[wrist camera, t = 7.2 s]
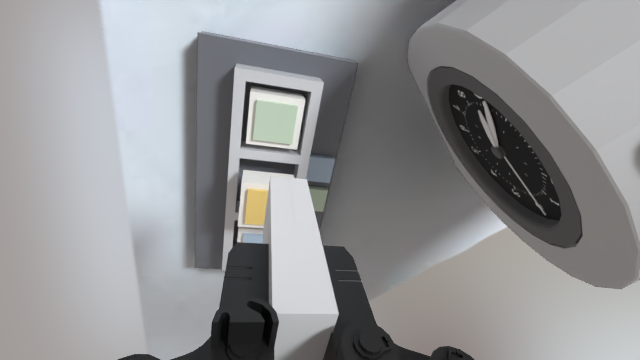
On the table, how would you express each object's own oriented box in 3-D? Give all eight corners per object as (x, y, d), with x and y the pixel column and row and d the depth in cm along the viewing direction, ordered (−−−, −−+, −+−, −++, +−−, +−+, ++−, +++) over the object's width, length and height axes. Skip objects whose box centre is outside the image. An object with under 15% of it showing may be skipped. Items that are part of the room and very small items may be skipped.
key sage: (251, 85, 24) (250, 92, 22) (302, 94, 25) (305, 101, 23) (247, 134, 26) (245, 145, 24) (294, 140, 26) (297, 151, 24)
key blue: (240, 215, 29) (238, 230, 27) (282, 218, 30) (283, 232, 28) (237, 248, 31) (235, 265, 29) (277, 250, 32) (278, 266, 30)
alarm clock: (386, 21, 25) (646, 36, 8) (468, -39, 24) (974, -171, 7) (470, 195, 35) (667, 369, 18) (531, 159, 34) (803, 306, 17)
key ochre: (243, 169, 24) (241, 183, 22) (293, 174, 25) (296, 188, 23) (239, 212, 26) (237, 228, 24) (286, 215, 27) (288, 231, 25)
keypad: (202, 31, 24) (191, 34, 20) (351, 59, 26) (365, 66, 23) (198, 254, 33) (190, 282, 30) (307, 258, 36) (312, 285, 32)
